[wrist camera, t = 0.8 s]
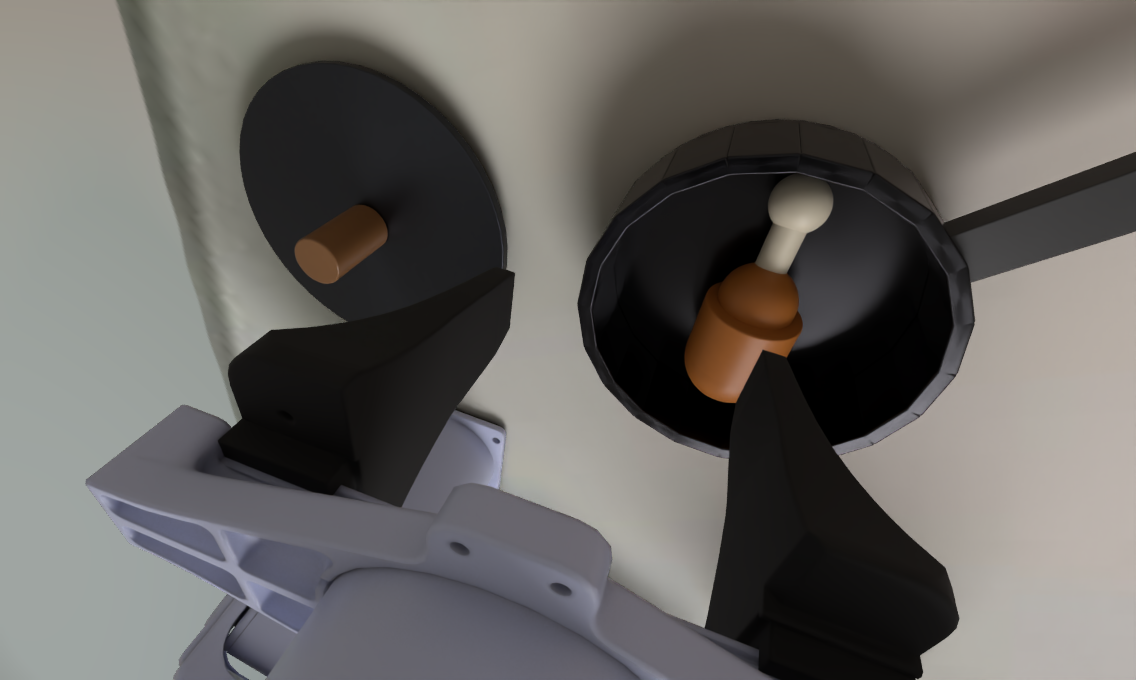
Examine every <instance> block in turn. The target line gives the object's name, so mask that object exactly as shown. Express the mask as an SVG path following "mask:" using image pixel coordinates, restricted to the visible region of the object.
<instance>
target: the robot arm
mask: <svg viewBox="0 0 1136 680" xmlns="http://www.w3.org/2000/svg"><path fill="white" fill-rule="evenodd" d="M514 278H515V273H514V272H511V271H508V270H505V269H501V268H498V267H494V268H492V269H490V270H488V271H486V272H483V273H481V274H479V275H477V276H476V277H474V278H472V279H470V280H468V281H466V282H463V283H461V284H459V285H457V286H455V287H453V288H451V289H449V290H447V291H445V292H442V293H440V294H437V295H435V296H433V297H430V298H428V299H425V300H423V301H421V302H418V303H416V304H413V305H410V306H407V307H404V308H401V309H398V310H395V311H392V312H388V313H385V314H381V315H377V316H373V317H368V318H364V319H359V320H355V321H350V322H345V323H339V324H332V325H325V326H317V327H308V328H294V329H280V330H271V331H269V332H268V333H266V334H265V335H264V336H262V337H261V338H260V339H259V340H257V341H256V342H255V343H253V344H252V345H251V346H249V347H248V348H247V349H246V350H244V351H243V352H242V353H240V354H239V355H238V356H236V357H235V358H234V359H233V360H232V362H231V363H230V364H229V369H228V377H229V381H230V386H231V388H232V391H233V394H234V397H235V399H236V402H237V405H238V407H239V410H240V413H241V416H242V419H241V420H240V421H239V422H238V423H237V424H236V425H234V426H233V427H232V428H231V426H230V425H229V424H228V423H227V422H225V421H224V420H222V419H220V418H219V417H216V416H214V415H211V414H208V413H206V412H203V411H201V410H198V409H196V408H193V407H190V406H188V405H181V406H180V407H179V408H177V409H176V410H175V411H173V412H172V413H171V414H170V415H168V416H167V417H166V418H165V419H163V420H162V421H161V422H159V423H158V424H157V425H156V426H154V427H153V428H152V429H150V430H149V431H148V432H147V433H145V434H144V435H143V436H141V437H140V438H139V439H138V440H136V441H135V442H134V443H132V444H131V445H130V446H129V447H127V448H126V449H125V450H123V451H122V452H121V453H120V454H119V455H117V456H116V457H115V458H113V459H112V460H111V461H110V462H108V463H107V464H106V465H104V466H103V467H102V468H100V469H99V470H98V471H97V472H95V473H94V474H93V475H91V476H90V477H89V478H88V479H86V486H87V487H88V488H89V490H90V491H91V492H92V494H93V495H94V497H95V498H96V499H97V501H98V502H99V503H100V505H101V506H102V507H103V509H104V510H105V511H106V513H107V514H108V516H109V517H110V518H111V520H112V521H113V522H114V524H115V525H116V526H117V528H118V529H119V530H120V532H121V533H122V535H123V536H124V537H125V539H126V540H127V541H128V542H129V543H130V544H131V545H133V546H136V547H138V548H140V549H142V550H144V551H147V552H149V553H151V554H153V555H155V556H157V557H159V558H161V559H164V560H166V561H168V562H169V563H171V564H174V565H175V566H177V567H179V568H181V569H183V570H185V571H187V572H189V573H191V574H193V575H195V576H196V577H198V578H200V579H202V580H204V581H205V582H207V583H209V584H211V585H213V586H214V587H216V588H218V589H220V590H222V591H223V592H225V593H227V595H226V596H225V597H224V599H223V600H222V601H221V602H220V604H219V605H218V606H217V608H216V609H215V610H214V611H213V613H212V614H211V616H210V617H209V618H208V620H207V621H206V623H205V627H204V628H203V629H202V631H201V632H200V633H199V634H198V635H197V637H196V638H195V639H194V640H193V641H192V643H191V644H190V645H189V646H188V648H187V649H186V650H185V651H184V653H183V654H182V655H181V657H180V659H179V666H180V667H179V668H178V670H177V671H176V673H175V675H174V677H173V680H249V679H247V678H245V677H244V676H242V675H241V674H239V673H238V672H237V671H236V670H235V669H234V668H233V667H232V666H231V665H230V663H229V662H228V658H227V654H226V651H227V653H229V654H230V655H232V656H234V657H235V658H237V659H239V660H240V661H242V662H244V663H245V664H247V665H249V666H250V667H252V668H254V669H256V670H257V671H259V672H260V673H262V674H264V675H265V676H267V678H266V679H265V680H916V679H915V678H917V679H919V678H921V677H922V674H923V669H922V664H921V659H920V655H921V654H923V653H924V652H926V651H927V650H929V649H930V648H932V647H933V646H935V645H936V644H938V643H939V642H941V641H942V640H944V639H945V638H947V637H948V636H949V635H950V634H951V633H952V632H953V631H954V630H955V629H956V628H957V625H958V621H959V615H958V611H957V607H956V603H955V598H954V594H953V590H952V586H951V583H950V580H949V577H948V574H947V571H946V568H945V567H944V566H943V565H942V564H940V563H939V562H938V561H937V560H936V559H935V558H934V557H932V556H931V555H930V554H929V553H928V552H927V551H926V550H924V549H923V548H922V547H921V546H920V545H919V544H918V543H916V542H915V541H914V540H913V539H912V538H911V537H910V536H909V535H908V534H906V533H905V532H904V531H903V530H902V529H901V528H900V527H899V526H898V525H897V524H896V523H895V522H894V521H893V520H892V519H891V518H890V517H889V516H888V515H887V514H886V513H885V512H884V510H883V509H882V508H881V507H880V506H879V505H878V504H877V503H876V502H875V501H874V500H873V498H872V497H871V496H870V495H869V494H868V493H867V492H866V490H865V489H864V488H863V487H862V486H861V485H860V483H859V482H858V481H857V480H856V478H855V477H854V476H853V475H852V473H851V472H850V471H849V470H848V468H847V467H846V465H845V464H844V463H843V461H842V460H841V458H840V457H839V456H838V454H837V453H836V452H835V450H834V449H833V447H832V446H831V444H830V443H829V441H828V439H827V438H826V436H825V434H824V433H823V431H822V429H821V428H820V426H819V424H818V423H817V421H816V419H815V417H814V415H813V413H812V411H811V409H810V408H809V406H808V404H807V402H806V400H805V398H804V396H803V394H802V391H801V389H800V387H799V385H798V383H797V381H796V378H795V376H794V374H793V372H792V369H791V367H790V365H789V363H788V361H787V359H786V357H785V356H782V355H779V354H775V353H772V352H769V351H766V350H762V352H761V354H760V356H759V358H758V360H757V362H756V364H755V366H754V368H753V370H752V372H751V374H750V376H749V378H748V380H747V382H746V384H745V385H744V387H743V389H742V391H741V393H740V395H739V397H738V399H737V401H736V405H735V410H734V415H733V421H732V426H731V432H730V447H729V467H728V490H727V506H726V516H725V523H724V529H723V535H722V541H721V547H720V553H719V558H718V564H717V569H716V575H715V580H714V585H713V590H712V595H711V600H710V606H709V611H708V616H707V620H706V625H705V628H702V627H700V626H697V625H695V624H692V623H690V622H687V621H685V620H682V619H680V618H677V617H675V616H672V615H670V614H667V613H665V612H664V611H662V610H660V609H659V608H657V607H655V606H654V605H652V604H651V603H649V602H647V601H646V600H644V599H643V598H641V597H639V596H638V595H636V594H634V593H633V592H631V591H630V590H628V589H626V588H625V587H623V586H622V585H620V584H618V583H617V582H615V581H613V580H612V579H610V578H609V577H608V573H609V570H610V566H611V562H612V552H611V546H610V545H609V543H608V542H607V541H606V540H605V539H604V537H603V536H602V535H601V534H600V533H599V532H598V530H596V529H595V528H593V527H591V526H589V525H587V524H586V523H584V522H582V521H580V520H578V519H575V518H573V517H570V516H568V515H565V514H562V513H560V512H557V511H554V510H552V509H549V508H546V507H544V506H541V505H538V504H536V503H533V502H530V501H528V500H525V499H523V498H520V497H517V496H515V495H512V494H509V493H507V492H504V491H501V490H499V488H500V480H501V472H502V464H503V456H504V448H505V441H506V431H505V430H504V429H503V428H502V427H500V426H497V425H495V424H492V423H489V422H486V421H484V420H481V419H478V418H476V417H473V416H470V415H467V414H465V413H462V412H459V411H456V410H455V409H456V407H457V406H458V404H459V403H460V402H461V400H462V399H463V398H464V396H465V395H466V394H467V392H468V391H469V390H470V388H471V387H472V386H473V384H474V383H475V381H476V380H477V379H478V377H479V376H480V375H481V373H482V372H483V371H484V369H485V368H486V367H487V365H488V364H489V362H490V361H491V360H492V358H493V357H494V355H495V354H496V352H497V350H498V349H499V347H500V345H501V343H502V341H503V339H504V338H505V336H506V334H507V332H508V330H509V328H510V319H511V309H512V298H513V288H514ZM234 626H235V628H234V629H233V631H232V632H231V633H230V634H229V632H230V630H231V629H232V628H233V627H234ZM228 635H229V636H228Z"/></svg>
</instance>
